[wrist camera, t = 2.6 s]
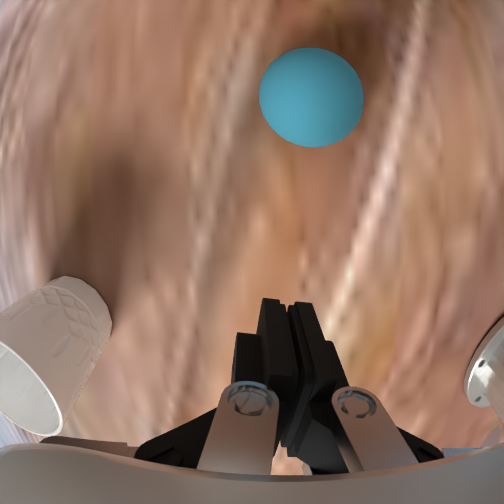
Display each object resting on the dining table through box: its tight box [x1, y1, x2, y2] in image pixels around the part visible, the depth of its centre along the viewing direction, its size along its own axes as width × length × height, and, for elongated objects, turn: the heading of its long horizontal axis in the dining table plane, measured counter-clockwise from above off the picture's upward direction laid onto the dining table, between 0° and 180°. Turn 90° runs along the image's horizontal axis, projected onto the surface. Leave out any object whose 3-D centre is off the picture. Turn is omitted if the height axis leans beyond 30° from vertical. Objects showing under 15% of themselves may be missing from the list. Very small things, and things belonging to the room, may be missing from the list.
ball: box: [259, 47, 364, 147], centre depth 15 cm, size 6×6×6 cm
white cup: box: [0, 276, 112, 436], centre depth 18 cm, size 8×8×10 cm
